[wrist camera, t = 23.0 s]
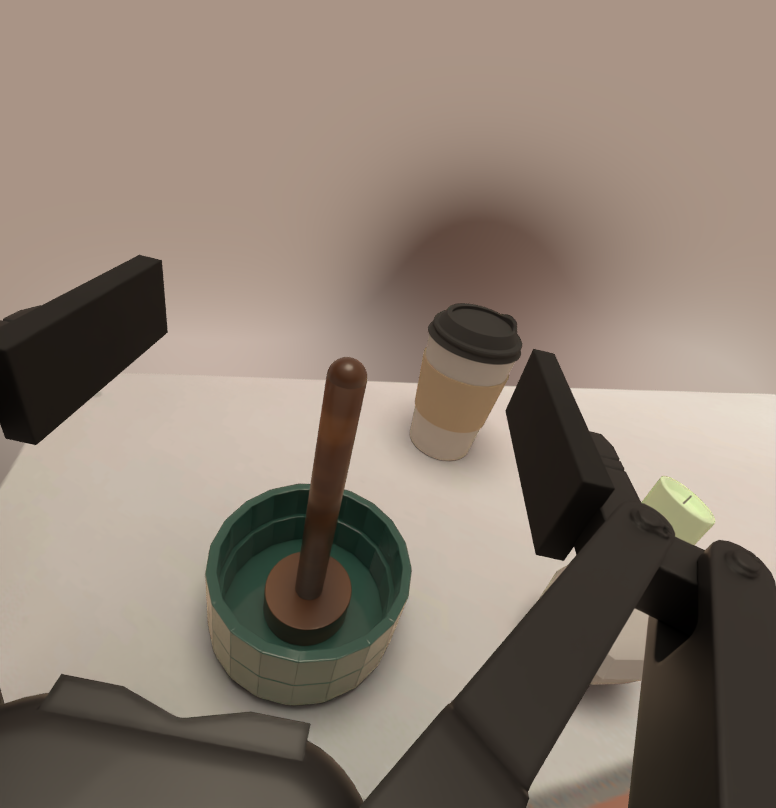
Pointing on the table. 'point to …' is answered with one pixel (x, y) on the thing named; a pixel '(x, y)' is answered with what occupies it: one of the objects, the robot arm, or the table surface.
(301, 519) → the bowl
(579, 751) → the table surface
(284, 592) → the paper towel holder
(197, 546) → the table surface
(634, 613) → the beige faceted lump
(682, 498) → the candle
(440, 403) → the coffee cup
